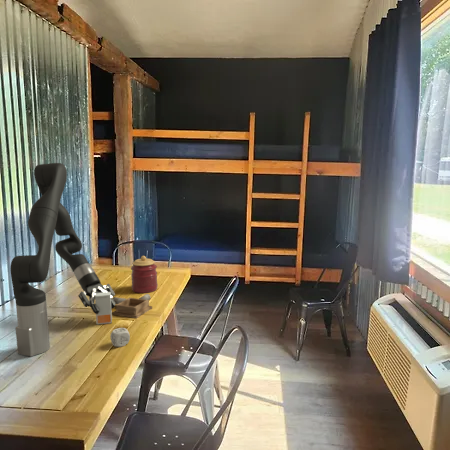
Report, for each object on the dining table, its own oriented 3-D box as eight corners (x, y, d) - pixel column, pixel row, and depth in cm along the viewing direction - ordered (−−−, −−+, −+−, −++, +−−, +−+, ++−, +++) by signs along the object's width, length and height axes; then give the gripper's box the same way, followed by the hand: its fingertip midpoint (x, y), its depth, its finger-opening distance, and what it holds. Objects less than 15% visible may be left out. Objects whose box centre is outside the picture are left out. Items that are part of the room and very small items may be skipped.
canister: (160, 291, 196) (158, 257, 194) (134, 295, 192) (132, 259, 189) (154, 284, 208) (153, 252, 206) (130, 287, 204) (128, 254, 201)
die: (130, 343, 139) (129, 330, 138) (117, 348, 136) (116, 334, 135) (123, 339, 143) (122, 326, 142) (110, 343, 139) (109, 330, 138)
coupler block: (136, 318, 162) (136, 308, 162) (101, 312, 169) (100, 303, 168) (159, 303, 179) (158, 295, 178) (126, 299, 185) (125, 291, 185)
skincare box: (96, 325, 156) (94, 296, 154) (96, 321, 160) (95, 292, 158) (112, 323, 157) (110, 294, 155) (112, 319, 161) (110, 291, 159)
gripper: (74, 276, 154) (94, 310, 149) (105, 268, 166) (124, 299, 160) (67, 286, 158) (87, 320, 153) (98, 278, 169) (116, 309, 164)
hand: (106, 309), depth 157 cm, fingers closed on skincare box, 7 cm apart
